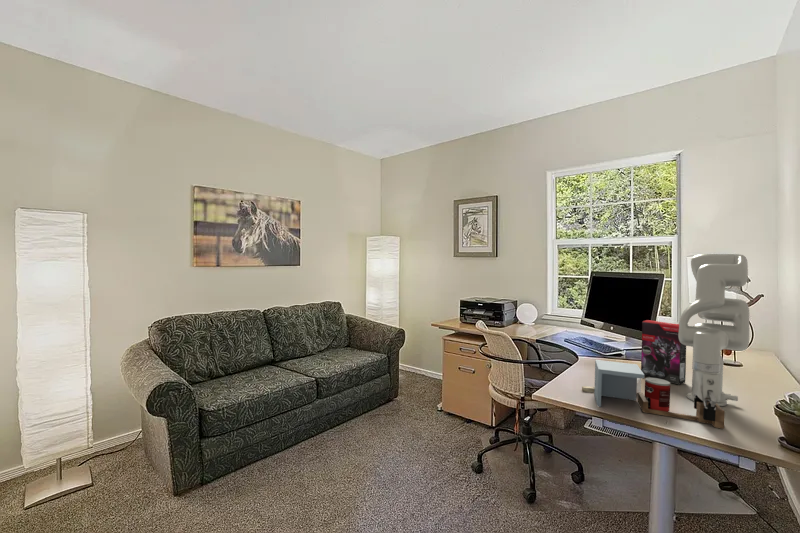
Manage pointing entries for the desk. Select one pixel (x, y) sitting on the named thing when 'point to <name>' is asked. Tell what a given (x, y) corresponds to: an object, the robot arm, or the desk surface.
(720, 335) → the robot arm
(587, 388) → the dowel
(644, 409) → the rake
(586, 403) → the desk surface
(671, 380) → the graphics card box
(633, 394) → the cubby
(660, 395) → the canned food
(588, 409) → the desk surface
